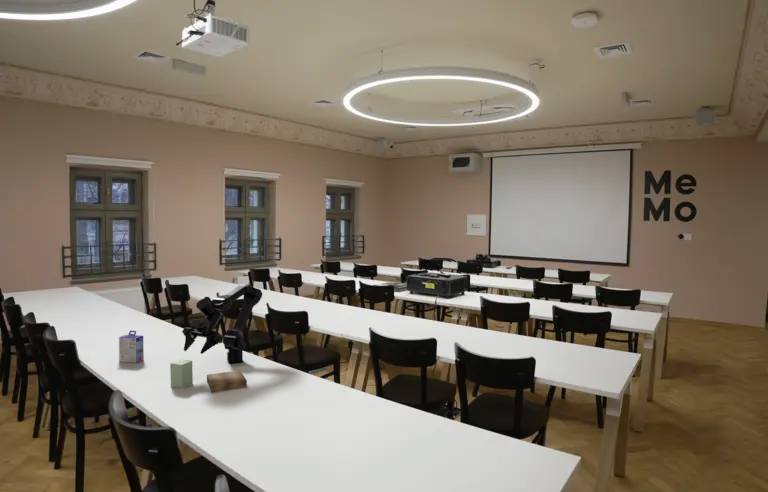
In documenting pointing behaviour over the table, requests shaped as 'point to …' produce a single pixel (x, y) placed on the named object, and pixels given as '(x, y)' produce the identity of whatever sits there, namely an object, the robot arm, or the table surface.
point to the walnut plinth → (226, 381)
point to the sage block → (181, 373)
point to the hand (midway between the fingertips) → (192, 352)
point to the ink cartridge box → (131, 348)
